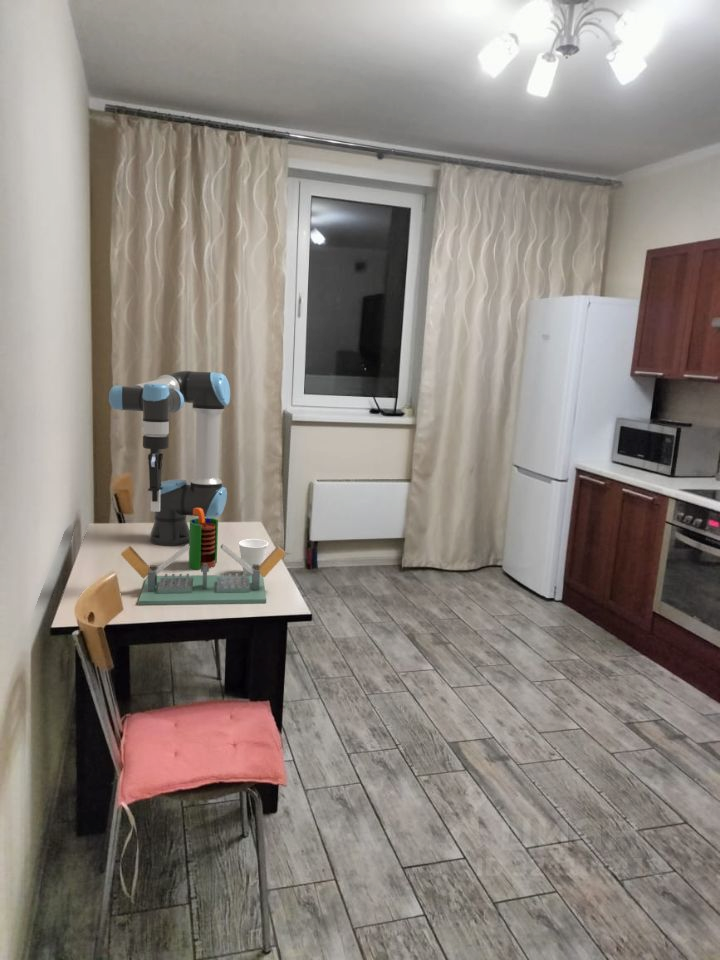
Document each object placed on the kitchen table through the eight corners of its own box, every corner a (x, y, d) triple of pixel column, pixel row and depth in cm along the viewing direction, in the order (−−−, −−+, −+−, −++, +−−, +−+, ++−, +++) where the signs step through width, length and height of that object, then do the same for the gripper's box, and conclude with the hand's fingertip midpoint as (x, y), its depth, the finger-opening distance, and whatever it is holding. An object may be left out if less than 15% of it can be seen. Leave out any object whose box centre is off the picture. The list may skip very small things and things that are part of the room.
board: (147, 579, 224) (147, 575, 224) (262, 578, 231) (262, 574, 231) (138, 605, 203) (138, 601, 202) (266, 602, 210) (266, 599, 209)
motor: (208, 571, 235) (208, 513, 231) (183, 568, 236) (183, 511, 233) (220, 562, 245) (221, 507, 241) (196, 559, 246) (196, 504, 242)
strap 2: (259, 579, 221) (284, 551, 220) (260, 582, 218) (285, 554, 218) (219, 547, 216) (245, 518, 216) (219, 550, 213) (245, 521, 213)
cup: (241, 568, 239) (241, 538, 237) (269, 570, 239) (270, 539, 237) (235, 578, 229) (235, 546, 227) (264, 580, 229) (265, 548, 227)
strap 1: (147, 583, 212) (120, 554, 208) (148, 580, 214) (122, 551, 211) (190, 550, 212) (164, 520, 209) (191, 547, 215) (165, 518, 211)
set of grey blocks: (150, 582, 218) (150, 560, 217) (258, 581, 224) (258, 559, 223) (147, 593, 209) (147, 570, 207) (259, 592, 215) (260, 569, 213)
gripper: (146, 432, 216) (145, 506, 220) (139, 437, 203) (139, 515, 208) (170, 433, 217) (170, 506, 221) (165, 438, 205) (165, 516, 209)
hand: (155, 510), depth 214 cm, fingers closed
